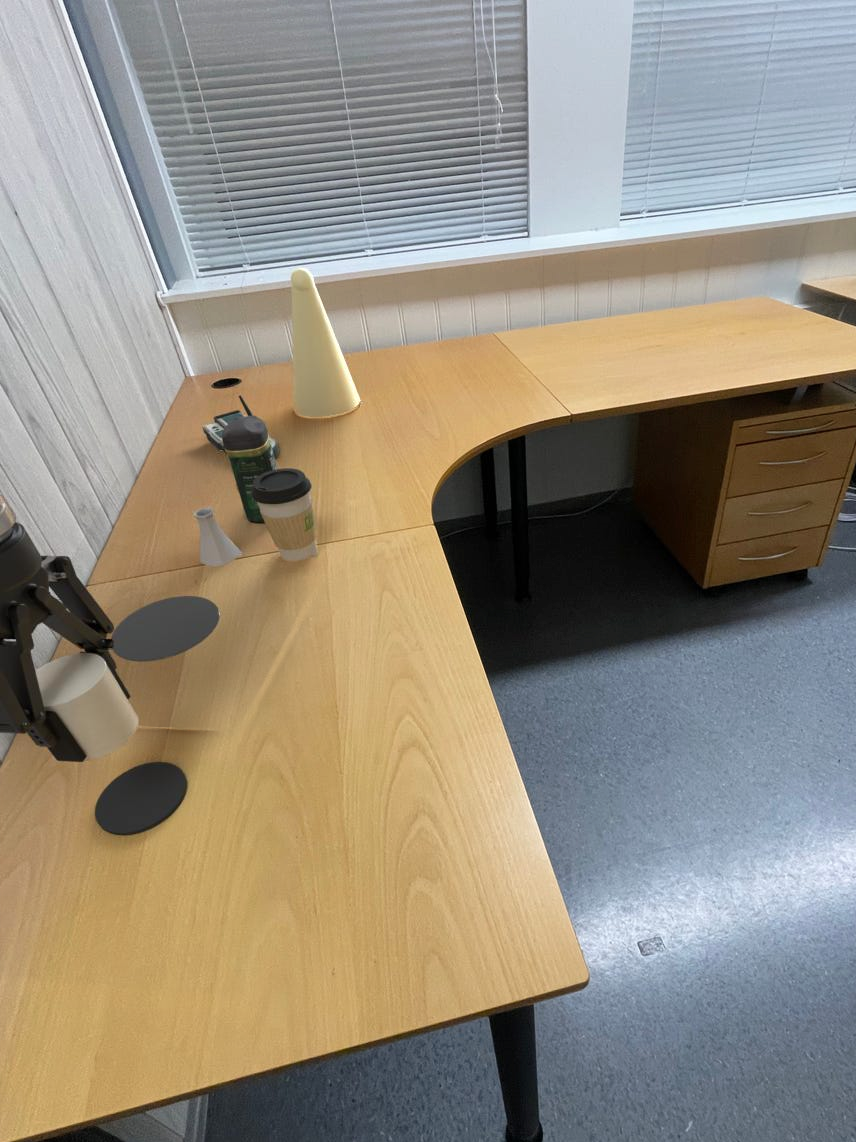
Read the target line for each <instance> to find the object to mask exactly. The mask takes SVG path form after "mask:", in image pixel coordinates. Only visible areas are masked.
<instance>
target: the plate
mask: <svg viewBox="0 0 856 1142" xmlns="http://www.w3.org/2000/svg"><path fill="white" fill-rule="evenodd" d="M220 612H221V611H220V609H219V607H218V606H217V604H216V603H215V602H214V601H212V600H210V599H208V598H206V597H202V596H198V595H197V596H196V595H180V596H178V595H177V596H172V597H168V598H163V599H160V600H156V601H153V602H151V603H148V604H146V605H144V606H142V607H139V608H138V609H136V610H135V611H133V612H132V613H130V614H129V615H128V616H126V617H125V618H124V619H123V620H121V622H120V623H119V624H118V625H117V626H116V627H115V628H114V630H113V632H112V633H111V636H110V639H113V641H114V647H113V648H112V649H111V651H113V653H114V654H116V655H117V656H118V657H120V658H122V659H124V660H128V661H132V662H153V661H159V660H164V659H168V658H171V657H172V658H173V657H175V656H177V655H180V654H183V653H185V652H186V651H188V650H191V649H192V648H194V647H196V646H198V645H199V644H200V643H201V642H203V641H205V639H207V638H208V637H209V636H210V635H211V634H212V633H213V632H214V630H215V629H216V627H217V626H218V624H219V622H220V616H221V614H220Z"/></svg>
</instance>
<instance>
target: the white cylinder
mask: <svg viewBox="0 0 856 1142" xmlns="http://www.w3.org/2000/svg"><path fill="white" fill-rule="evenodd" d="M35 672H36V676H37V680H38V684H39V688H40V692H41V696H42V700H43V704H44V708H45V711H55V712H56V714H57V715H58V717H59V718H60V719H61V721H62V722H63V724H64V725H65V726H66V728H67V729H68V731H69V732H70V733H71V735H72V736H73V738H74V739H75V740H76V742H77V743H78V745H79V746H80V747H81V749H82V750H83V751H84V753H85V754H86V756H87V757H86V758H85V759H84V761H83V762H91V761H95V760H98V759H102V758H104V757H107V756H109V755H111V754H112V753H114V752H115V751H117V750H119V749H121V748H122V747H123V746H125V745H126V744H127V743H128V742H129V741H130V740H131V739H132V737H133V736H134V734H135V733H136V732H137V729H138V726H139V717H138V714H137V713H136V710H135V709H134V708H133V706H132V704H131V702H130V701H129V700H128V699H127V697H126V696H125V694H124V692H123V691H122V689H121V687H120V686H119V684H118V682H117V681H116V679H115V677H114V675H113V674H112V672H111V670H110V669H109V667H108V665H107V664H106V662H105V660H104V659H103V658H102V657H100V656H99V655H96V654H92V653H80V652H76V653H71V654H66V655H64V656H61V657H60V656H59V657H58V658H54V659H53V660H51V661H48V662H46V663H45V664H43V665H42V666H40V667H39V668H37V669H35Z"/></svg>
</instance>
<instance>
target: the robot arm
mask: <svg viewBox="0 0 856 1142" xmlns="http://www.w3.org/2000/svg"><path fill="white" fill-rule="evenodd" d="M50 589H51V591H52V592H53V593H54V594H55V596H56V597H57V598H58V599H57V598H56V597H55V596H54V595H52V594H51V592H50ZM40 624H43V625H44V626H46V627H48V628H49V629H50V630H52V631H53V632H55V633H57V634H58V635H59V636H61V637H62V638H64V639H65V640H67V641H68V642H70V643H71V644H73V645H74V646H76V647H77V648H79V649H81V650H84V651H79V653H92V654H96V655H99V656H100V657H102V658H103V659H104V660H105V662H106V664H107V665H108V667H109V669H110V670H111V672H112V674H113V675H114V677H115V679H116V681H117V682H118V684H119V686H120V687H121V689H122V691H123V692H124V694H125V696H126V697H127V699H128V701H129V699H131V696H132V695H131V694H130V693H129V691H128V689H127V688H126V686H125V684H124V682H123V681H122V679H121V678H120V676H119V674H118V672H117V663H116V661H115V660H114V658H113V656H112V655H111V653H110V650H111V651H112V648H113V647H114V641H113V639H111V638H107V636H108V635H110V634H113V632H114V630H115V625H114V623H113V621H112V620H111V619H110V618H109V617H108V615H107V614H106V613H105V611H104V610H103V609H102V607H101V606H100V605H99V604H98V602H97V601H96V599H95V598H94V596H92V594H91V593H90V592H89V590H88V589H87V588H86V586H85V585H84V583H83V582H82V581H81V580H80V578H79V576H77V573H76V570H75V568H74V564H73V562H72V560H71V558H70V557H69V556H68V555H42V554H41V553H40V552H39V549H38V548H37V547H36V545H35V543H34V542H33V540H32V538H31V537H30V535H29V533H28V531H27V530H26V528H25V526H24V525H23V524H21V523H20V522H17V515H16V512H15V511H14V509H13V507H12V506H11V504H10V502H9V500H8V498H6V495H5V493H4V492H3V490H2V489H1V488H0V734H19V735H25V734H27V736H28V737H30V739H31V740H32V741H33V743H34V744H35V745H36V746H38V747H41V748H47V749H48V751H49V752H50V753H51V755H53V757H54V759H55V760H56V761H57V762H68V763H69V762H72V763H83V762H85V761H84V759H85V758H86V757H87V756H86V754H85V753H84V751H83V750H82V749H81V747H80V746H79V745H78V743H77V742H76V740H75V739H74V738H73V736H72V735H71V733H70V732H69V731H68V729H67V728H66V726H65V725H64V724H63V722H62V721H61V719H60V718H59V717H58V715H57V714H56V712H55V711H45V708H44V704H43V700H42V696H41V692H40V688H39V684H38V680H37V676H36V672H35V671H36V668H35V664H34V663H35V662H34V659H33V656H32V650H33V649H34V648H35V643H34V639H33V635H32V634H33V633H34V632H35V631H36V629H37V627H38V626H39V625H40Z"/></svg>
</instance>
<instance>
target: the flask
mask: <svg viewBox="0 0 856 1142" xmlns="http://www.w3.org/2000/svg"><path fill="white" fill-rule="evenodd" d="M193 517H194V518H195V519H196V520H197V523H198V527H199V532H200V550H199V563H201V564H203V565H205V566H206V567H221V566H225V565H227V564H229V563H231V562H232V561H234V560H236V559H237V558H238V557H243V555H244V554H243V552H242V551H241V550H240V549H239V548H238V546H237V545H236V544H235V543H234V542H233V541H232V540H231V539H230V538H229V537H228V536H227V534H226V532H224V530H223V529H222V528H221V526H220V525H219V523H218V521H217V520H216V517H215V509H214V508H211V507H202V508H199V509H197V510H196V511H194V513H193Z"/></svg>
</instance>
